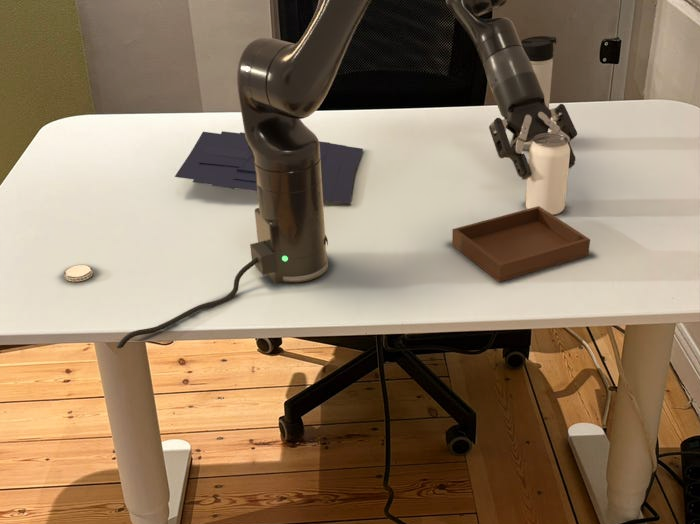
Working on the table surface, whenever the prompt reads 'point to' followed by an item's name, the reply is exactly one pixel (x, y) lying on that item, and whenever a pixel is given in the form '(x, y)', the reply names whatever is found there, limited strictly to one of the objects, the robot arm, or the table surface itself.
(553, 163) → the can
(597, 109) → the table surface
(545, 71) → the travel mug
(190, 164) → the papers
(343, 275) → the table surface
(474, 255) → the tray
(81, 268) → the cream ridged disc
